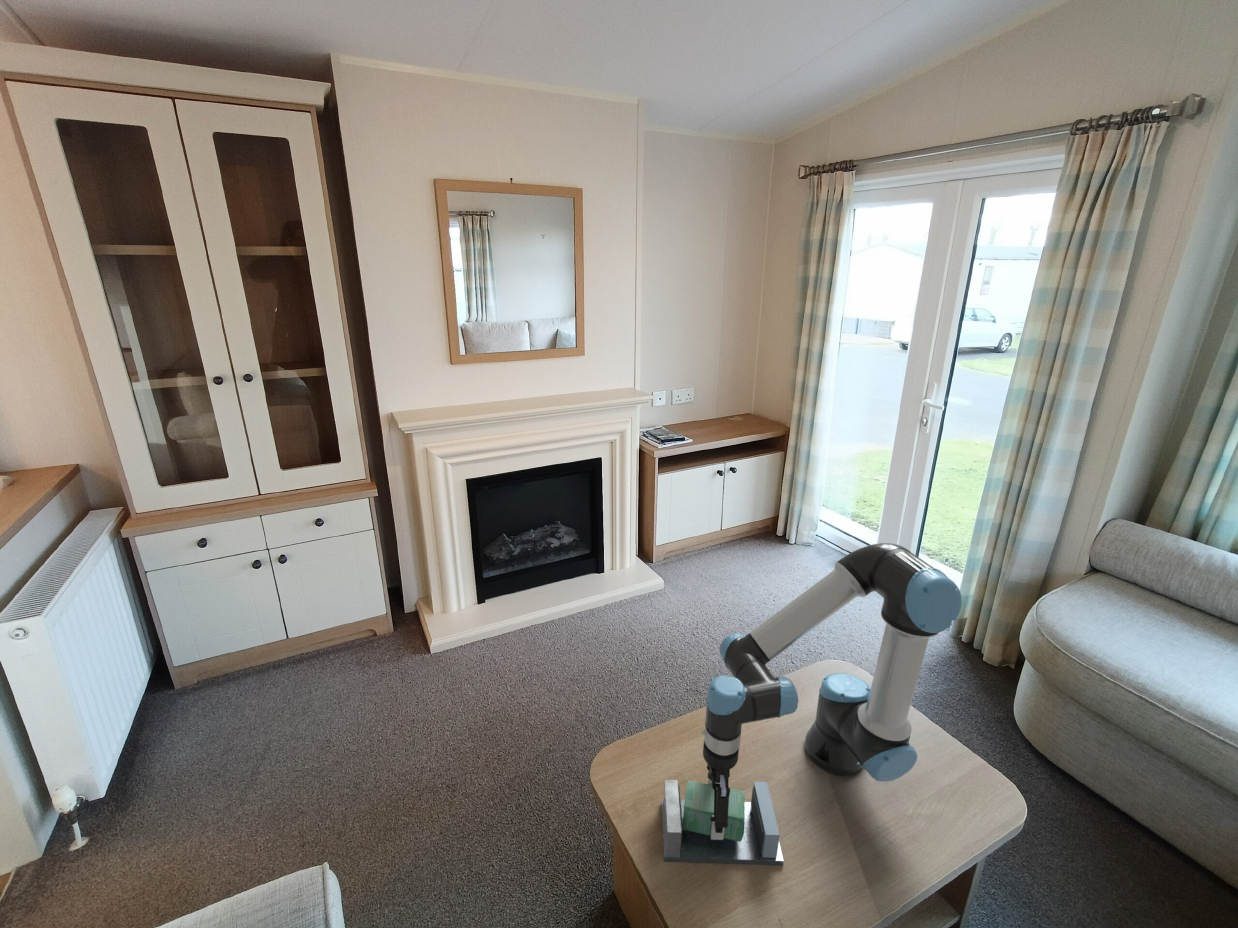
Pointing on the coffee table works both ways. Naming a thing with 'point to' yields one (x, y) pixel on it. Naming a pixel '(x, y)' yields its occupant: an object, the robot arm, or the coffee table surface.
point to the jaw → (765, 820)
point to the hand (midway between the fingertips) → (714, 819)
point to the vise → (707, 838)
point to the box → (712, 810)
